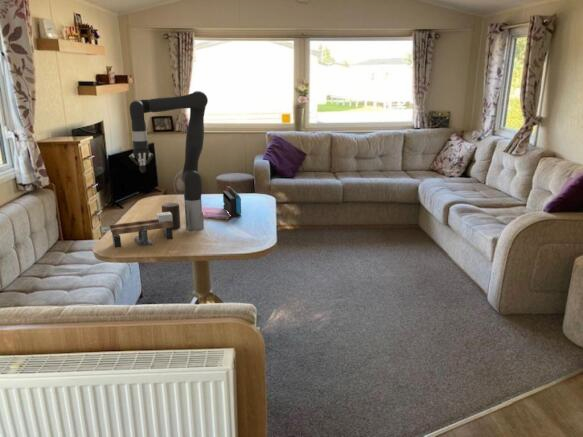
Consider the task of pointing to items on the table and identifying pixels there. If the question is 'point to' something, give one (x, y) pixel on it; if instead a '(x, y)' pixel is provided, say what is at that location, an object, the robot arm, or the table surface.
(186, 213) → the robot arm
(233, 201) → the game console
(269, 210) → the table surface
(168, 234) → the pivot stand
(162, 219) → the steel weight
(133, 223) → the walnut beam
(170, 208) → the pillar candle
